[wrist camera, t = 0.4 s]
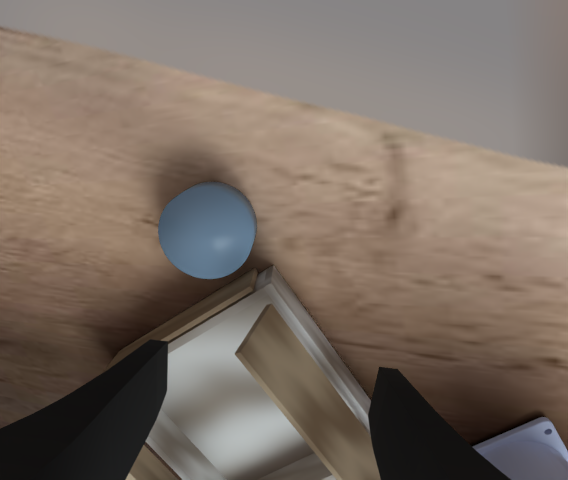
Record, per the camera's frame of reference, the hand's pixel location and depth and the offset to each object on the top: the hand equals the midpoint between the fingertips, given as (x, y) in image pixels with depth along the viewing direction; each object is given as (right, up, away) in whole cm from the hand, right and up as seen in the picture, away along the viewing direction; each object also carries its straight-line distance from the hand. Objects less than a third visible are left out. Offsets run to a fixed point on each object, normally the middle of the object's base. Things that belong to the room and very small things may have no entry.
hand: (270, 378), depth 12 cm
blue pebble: (-4, +6, +9) cm, 11 cm away
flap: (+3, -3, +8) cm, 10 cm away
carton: (-2, -6, +13) cm, 14 cm away
